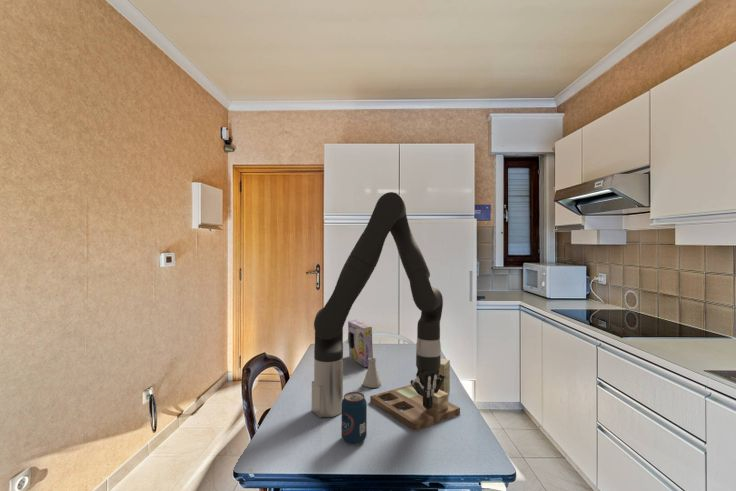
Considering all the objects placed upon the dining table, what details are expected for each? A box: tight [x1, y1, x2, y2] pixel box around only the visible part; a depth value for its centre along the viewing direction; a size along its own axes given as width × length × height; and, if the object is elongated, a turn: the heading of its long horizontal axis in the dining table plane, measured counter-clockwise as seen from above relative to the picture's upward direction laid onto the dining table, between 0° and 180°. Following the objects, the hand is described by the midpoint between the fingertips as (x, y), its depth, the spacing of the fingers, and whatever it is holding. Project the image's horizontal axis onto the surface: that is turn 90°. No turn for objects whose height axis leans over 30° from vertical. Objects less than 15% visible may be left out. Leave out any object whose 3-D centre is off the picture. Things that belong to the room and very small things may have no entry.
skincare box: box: [436, 357, 451, 395], centre depth 128 cm, size 6×4×12 cm
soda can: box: [340, 391, 368, 446], centre depth 98 cm, size 7×7×12 cm
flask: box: [362, 357, 382, 389], centre depth 137 cm, size 7×7×10 cm
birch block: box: [432, 390, 449, 412], centre depth 114 cm, size 4×4×4 cm
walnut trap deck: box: [369, 384, 461, 432], centre depth 118 cm, size 19×23×2 cm
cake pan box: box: [347, 319, 374, 368], centre depth 165 cm, size 19×5×18 cm, turn 25°
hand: (427, 407), depth 111 cm, fingers closed
